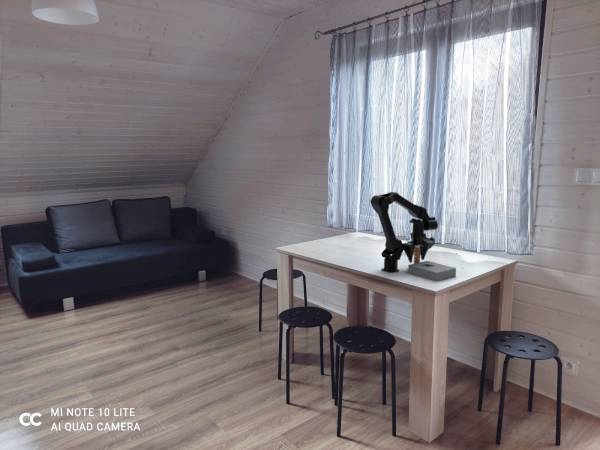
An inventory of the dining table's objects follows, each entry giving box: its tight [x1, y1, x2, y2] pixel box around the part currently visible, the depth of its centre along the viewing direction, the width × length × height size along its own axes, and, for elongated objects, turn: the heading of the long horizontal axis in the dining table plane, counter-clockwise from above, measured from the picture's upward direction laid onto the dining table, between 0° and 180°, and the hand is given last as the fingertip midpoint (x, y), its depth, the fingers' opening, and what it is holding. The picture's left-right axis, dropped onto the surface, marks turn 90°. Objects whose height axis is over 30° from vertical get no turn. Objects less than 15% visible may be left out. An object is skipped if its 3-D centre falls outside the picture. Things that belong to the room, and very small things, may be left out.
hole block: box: [407, 260, 457, 282], centre depth 216 cm, size 14×17×4 cm
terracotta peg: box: [413, 247, 421, 264], centre depth 229 cm, size 3×3×10 cm
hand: (416, 261), depth 229 cm, fingers open, 9 cm apart
